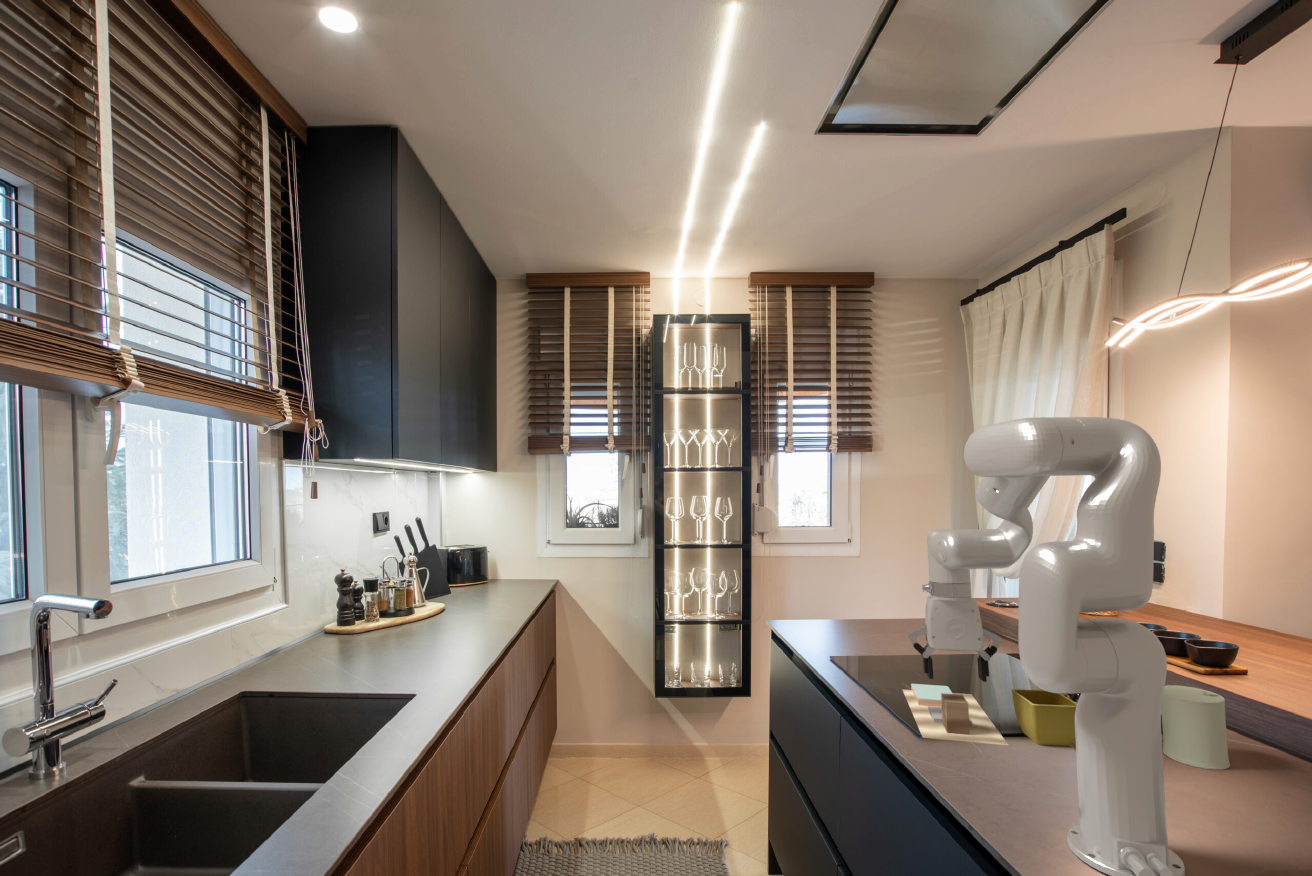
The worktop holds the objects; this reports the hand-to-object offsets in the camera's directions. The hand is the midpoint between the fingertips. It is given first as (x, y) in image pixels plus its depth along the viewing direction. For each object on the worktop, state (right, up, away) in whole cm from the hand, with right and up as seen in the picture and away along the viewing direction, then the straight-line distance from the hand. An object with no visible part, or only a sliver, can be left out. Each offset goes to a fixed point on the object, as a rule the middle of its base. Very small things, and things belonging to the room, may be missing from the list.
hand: (956, 678), depth 122 cm
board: (+2, -12, +8) cm, 14 cm away
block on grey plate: (+1, -10, +4) cm, 11 cm away
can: (+38, -11, -11) cm, 41 cm away
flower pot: (+15, -11, -5) cm, 19 cm away
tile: (+2, -10, +12) cm, 16 cm away
